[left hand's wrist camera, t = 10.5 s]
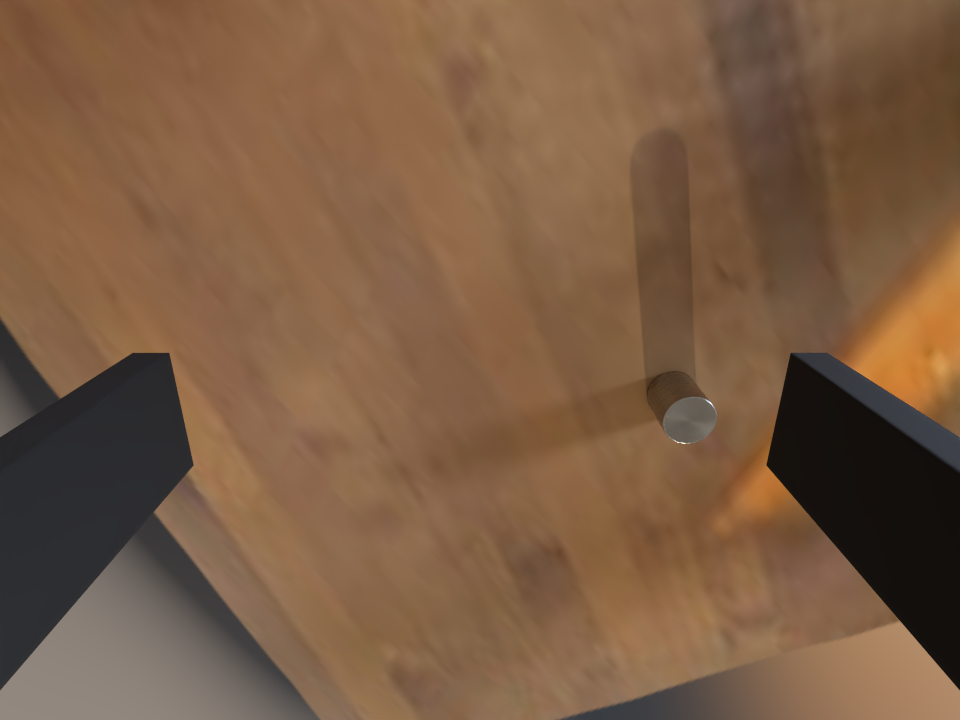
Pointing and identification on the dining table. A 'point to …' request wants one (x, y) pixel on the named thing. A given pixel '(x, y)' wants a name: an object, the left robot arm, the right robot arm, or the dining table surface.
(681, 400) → the tin
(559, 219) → the dining table surface
